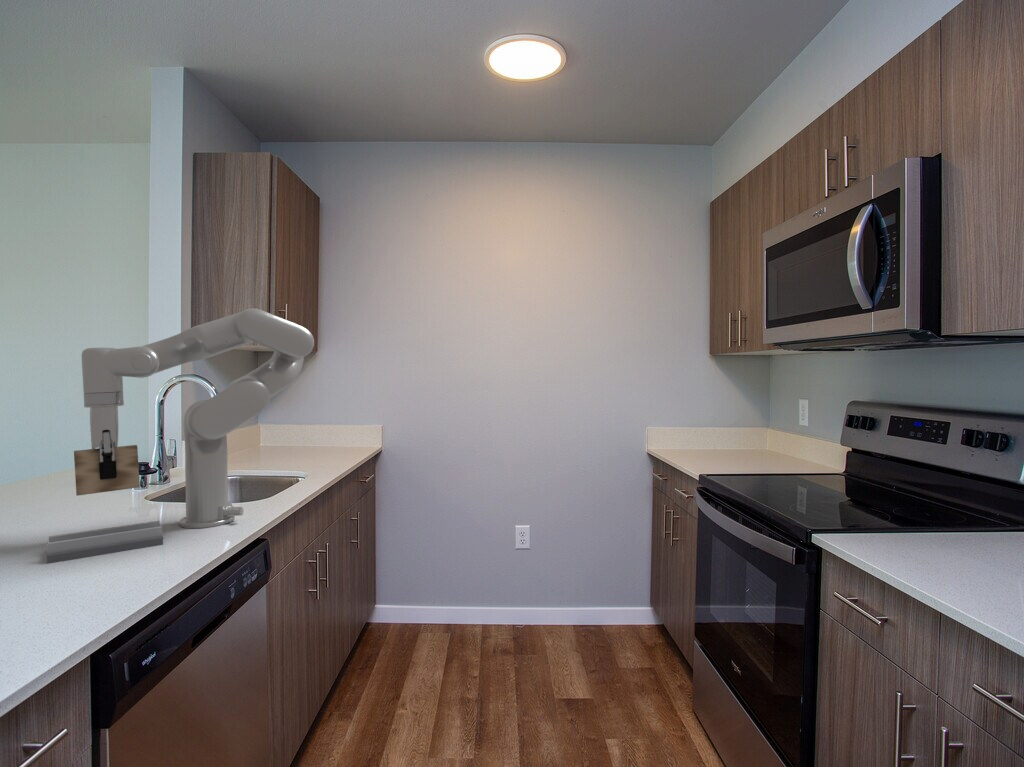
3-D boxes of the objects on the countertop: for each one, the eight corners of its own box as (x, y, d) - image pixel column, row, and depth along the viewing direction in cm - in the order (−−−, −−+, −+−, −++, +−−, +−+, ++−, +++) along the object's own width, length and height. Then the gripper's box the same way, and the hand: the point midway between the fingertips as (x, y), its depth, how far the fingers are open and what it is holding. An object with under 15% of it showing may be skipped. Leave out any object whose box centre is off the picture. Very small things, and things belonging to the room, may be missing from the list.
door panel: (138, 485, 136) (136, 444, 135) (139, 487, 133) (137, 446, 133) (76, 493, 128) (74, 450, 128) (76, 495, 126) (73, 452, 126)
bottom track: (158, 533, 132) (158, 519, 132) (163, 544, 124) (162, 528, 124) (49, 550, 120) (49, 534, 120) (47, 563, 112) (46, 546, 112)
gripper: (84, 399, 134) (88, 474, 135) (83, 402, 121) (88, 485, 122) (121, 397, 139) (125, 470, 140) (125, 400, 126) (129, 480, 127)
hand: (108, 476), depth 131 cm, fingers closed on door panel, 3 cm apart
